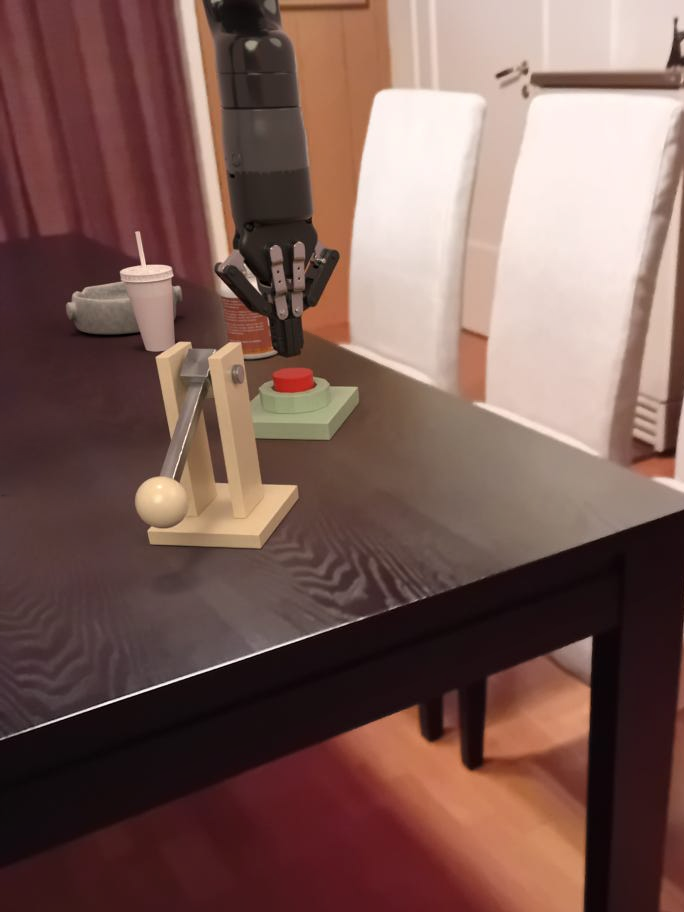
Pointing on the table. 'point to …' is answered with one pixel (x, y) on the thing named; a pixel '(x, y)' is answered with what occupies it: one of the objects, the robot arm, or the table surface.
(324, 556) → the table surface
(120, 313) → the dish
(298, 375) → the stop button
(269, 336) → the pill bottle
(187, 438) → the switch lever
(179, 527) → the switch
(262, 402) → the stop panel
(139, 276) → the smoothie
